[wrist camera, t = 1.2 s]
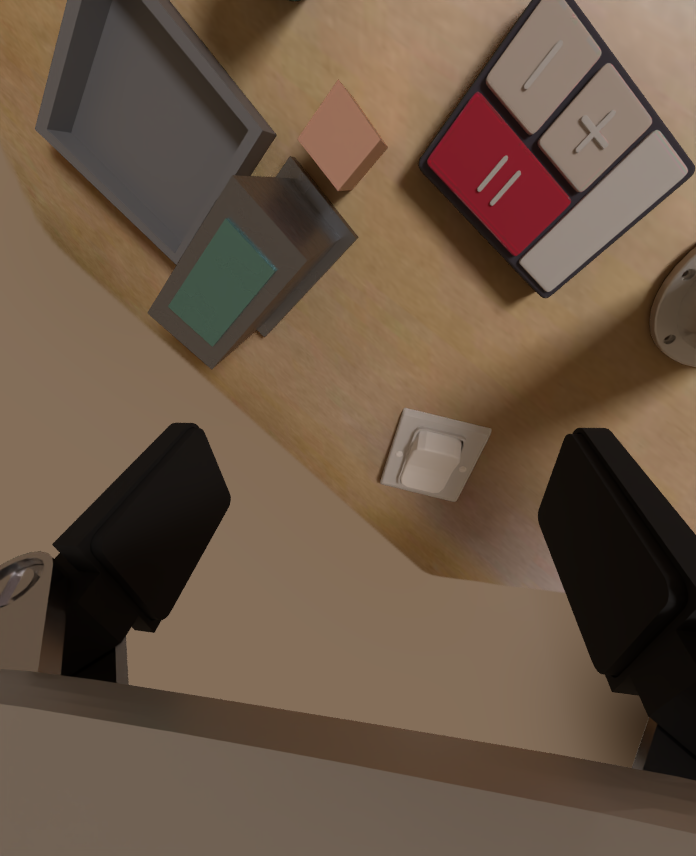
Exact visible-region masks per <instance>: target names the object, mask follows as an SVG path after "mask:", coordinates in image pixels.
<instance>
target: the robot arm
mask: <svg viewBox="0 0 696 856" xmlns="http://www.w3.org/2000/svg"><path fill="white" fill-rule="evenodd" d="M683 273H684V274H683ZM649 323H650V332H651V336H652V338H653V340H654V343H655V344H656V345H657V347H658V348H659V349H660V350H661V351H662V352H663V353H664V354H666V355H667V356H668V357H670V358H671V359H673V360H675V361H677V362H679V363H681V364H684V365H688V366H692V367H696V247H695V248H694V249H692V250H691V251H690V252H689V253H688V254H687V255H686V256H685V257H684V258H683V259H682V260H681V261H680V262H679V263H678V264H677V265H676V266H675V267H674V269H673V270H672V271H671V273H670V274H669V275H668V276H667V278H666V279H665V280H664V282H663V284H662V286H661V287H660V289H659V291H658V293H657V294H656V297H655V300H654V302H653V305H652V308H651V314H650V321H649ZM230 498H231V497H230V493H229V491H228V488H227V486H226V484H225V481H224V478H223V476H222V474H221V471H220V469H219V466H218V464H217V462H216V459H215V457H214V454H213V452H212V449H211V447H210V445H209V442H208V440H207V437H206V435H205V433H204V431H203V430H202V429H200V428H199V427H198V426H197V425H196V424H194V423H173V424H171V425H170V426H169V427H168V428H167V429H166V430H165V431H164V432H163V433H162V434H161V435H160V436H159V437H158V438H157V439H156V440H155V441H154V442H153V443H152V444H151V445H150V446H149V447H148V448H147V449H146V450H145V451H144V452H143V453H142V454H141V455H140V456H139V457H138V458H137V459H136V460H135V461H134V462H133V463H132V464H131V465H130V466H129V467H128V468H127V469H126V470H125V471H124V472H123V473H122V474H121V475H120V476H119V477H118V478H117V479H116V480H115V481H114V482H113V483H112V484H111V485H110V486H109V488H107V490H105V492H104V493H102V494H101V496H100V497H98V499H97V500H96V501H95V502H94V503H93V504H92V505H91V506H90V507H89V508H88V509H87V510H86V511H85V512H84V513H83V514H82V515H81V516H80V517H79V518H78V519H77V520H76V521H75V522H74V523H73V524H72V525H71V526H70V527H69V528H68V529H67V530H66V531H65V532H64V533H63V534H62V535H61V536H60V537H59V538H58V539H57V540H56V541H55V542H54V543H53V546H54V547H55V548H56V549H57V550H58V551H59V552H60V554H59V555H58V556H57V557H56V558H55V559H53V558H52V557H51V556H50V555H49V554H48V553H45V552H41V551H38V552H30V553H27V554H23V555H20V556H17V557H15V558H13V559H11V560H10V561H7V562H5V563H3V564H2V565H0V856H696V535H695V533H694V532H693V531H692V530H691V529H690V527H689V526H688V525H687V524H686V522H685V521H684V520H683V519H682V518H681V516H680V515H679V514H678V513H677V511H676V510H675V509H674V508H673V507H672V505H671V504H670V503H669V502H668V500H667V499H666V498H665V497H664V496H663V494H662V493H661V492H660V491H659V489H658V488H657V487H656V486H655V485H654V483H653V482H652V481H651V480H650V478H649V477H648V476H647V475H646V474H645V472H644V471H643V470H642V469H641V467H640V466H639V465H638V464H637V463H636V461H635V460H634V459H633V458H632V456H631V455H630V454H629V453H628V452H627V450H626V449H625V448H624V447H623V445H622V444H621V443H620V442H619V441H618V439H617V438H616V437H615V436H614V434H613V433H612V432H611V431H610V430H609V429H606V428H577V429H576V430H575V431H574V432H573V434H567V435H566V436H565V438H564V441H563V443H562V446H561V449H560V452H559V455H558V457H557V460H556V463H555V466H554V468H553V471H552V474H551V477H550V480H549V482H548V485H547V488H546V491H545V494H544V496H543V499H542V502H541V505H540V508H539V511H538V521H539V525H540V528H541V530H542V533H543V535H544V538H545V541H546V543H547V546H548V548H549V551H550V554H551V556H552V559H553V561H554V564H555V567H556V569H557V572H558V574H559V577H560V580H561V582H562V585H563V587H564V590H565V593H566V595H567V598H568V600H569V603H570V605H571V608H572V611H573V613H574V616H575V618H576V621H577V624H578V626H579V629H580V631H581V634H582V636H583V639H584V642H585V644H586V647H587V650H588V652H589V655H590V657H591V660H592V662H593V664H594V667H595V668H596V669H597V671H598V672H599V673H600V674H605V676H606V678H607V681H608V683H609V686H610V688H611V691H612V692H616V693H624V694H631V695H639V696H640V698H641V701H642V703H643V706H644V708H645V710H646V712H647V714H648V716H649V718H648V722H647V725H646V727H645V731H644V733H643V736H642V739H641V742H640V745H639V748H638V751H637V754H636V757H635V760H634V763H633V766H632V768H628V767H622V766H617V765H612V764H606V763H601V762H596V761H590V760H585V759H579V758H574V757H568V756H563V755H558V754H552V753H546V752H540V751H534V750H527V749H522V748H516V747H509V746H503V745H497V744H491V743H485V742H479V741H473V740H467V739H461V738H455V737H449V736H443V735H437V734H430V733H425V732H419V731H413V730H407V729H401V728H395V727H388V726H383V725H377V724H370V723H364V722H358V721H352V720H346V719H339V718H333V717H327V716H321V715H315V714H308V713H302V712H296V711H290V710H284V709H277V708H271V707H265V706H258V705H252V704H246V703H240V702H234V701H227V700H221V699H215V698H208V697H202V696H195V695H189V694H183V693H176V692H170V691H164V690H157V689H151V688H144V687H138V686H132V685H129V684H128V666H127V648H126V635H127V633H128V631H129V630H130V628H131V627H132V628H133V629H134V630H138V631H146V632H153V633H154V632H155V631H156V629H157V627H158V625H159V623H160V621H161V620H163V619H165V618H166V617H167V616H168V615H169V613H170V612H171V610H172V608H173V607H174V605H175V603H176V601H177V599H178V598H179V596H180V594H181V592H182V590H183V589H184V587H185V585H186V583H187V581H188V580H189V578H190V576H191V574H192V572H193V570H194V569H195V567H196V565H197V563H198V562H199V560H200V558H201V556H202V554H203V553H204V551H205V549H206V547H207V545H208V543H209V542H210V540H211V538H212V536H213V534H214V533H215V531H216V529H217V527H218V526H219V524H220V522H221V520H222V518H223V516H224V515H225V513H226V511H227V509H228V508H229V505H230V500H231V499H230Z"/></svg>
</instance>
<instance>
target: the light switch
mask: <svg viewBox="0 0 696 856" xmlns="http://www.w3.org/2000/svg"><path fill="white" fill-rule="evenodd" d="M491 431H492V430H491V428H487V427H483V426H479V425H474V424H470V423H466V422H462V421H458V420H454V419H450V418H446V417H441V416H437V415H433V414H429V413H425V412H421V411H417V410H412V409H408V408H404V409H403V411H402V414H401V418H400V421H399V424H398V427H397V430H396V433H395V436H394V439H393V442H392V445H391V448H390V451H389V455H388V458H387V461H386V464H385V467H384V470H383V473H382V477H381V480H380V483H381V484H383V485H387V486H391V487H395V488H399V489H403V490H407V491H411V492H415V493H419V494H423V495H427V496H431V497H435V498H439V499H443V500H447V501H451V502H456V501H457V499H458V497H459V495H460V494H461V492H462V490H463V488H464V486H465V484H466V482H467V480H468V478H469V476H470V474H471V472H472V470H473V468H474V466H475V464H476V462H477V460H478V458H479V456H480V454H481V452H482V450H483V448H484V446H485V445H486V443H487V441H488V439H489V437H490V435H491ZM462 441H463V444H462Z"/></svg>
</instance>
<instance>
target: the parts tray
mask: <svg viewBox="0 0 696 856" xmlns="http://www.w3.org/2000/svg"><path fill="white" fill-rule="evenodd" d="M35 130H36V131H37V132H38V133H39V134H40V135H42V136H43V137H44V138H45V139H46V140H47V141H48V142H49V143H50V144H51V145H52V146H53V147H54V148H55V149H56V150H57V151H58V152H59V153H60V154H61V155H62V156H63V157H64V158H65V159H67V160H68V161H69V162H70V163H71V164H72V165H73V166H74V167H75V168H76V169H77V170H78V171H79V172H80V173H81V174H82V175H83V176H84V177H85V178H86V179H87V180H88V181H89V182H90V183H92V184H93V185H94V186H95V187H96V188H97V189H98V190H99V191H100V192H101V193H102V194H103V195H104V196H105V197H106V198H107V199H108V200H109V201H110V202H111V203H112V204H113V205H114V206H115V207H117V208H118V209H119V210H120V211H121V212H122V213H123V214H124V215H125V216H126V217H127V218H128V219H129V220H130V221H131V222H132V223H133V224H134V225H135V226H136V227H137V228H138V229H139V230H140V231H142V232H143V233H144V234H145V235H146V236H147V237H148V238H149V239H150V240H151V241H152V242H153V243H154V244H155V245H156V246H157V247H158V248H159V249H160V250H161V251H162V252H163V253H164V254H165V255H167V256H168V257H169V258H170V259H171V260H172V261H173V262H174V263H175V264H176V265H177V263H178V262H179V260H180V258H181V257H182V255H183V253H184V252H185V250H186V248H187V247H188V245H189V244H190V242H191V240H192V239H193V237H194V235H195V234H196V232H197V231H198V229H199V227H200V226H201V224H202V222H203V221H204V219H205V218H206V216H207V214H208V213H209V211H210V209H211V208H212V206H213V205H214V203H215V201H216V200H217V199H218V197H219V196H220V194H221V192H222V191H223V189H224V188H225V186H226V184H227V183H228V181H229V179H230V178H231V176H232V175H238V176H250V175H251V174H252V172H253V171H254V169H255V168H256V166H257V165H258V163H259V162H260V160H261V158H262V157H263V155H264V154H265V152H266V151H267V149H268V148H269V146H270V145H271V143H272V141H273V140H274V138H275V137H276V133H275V132H274V131H273V130H272V128H271V127H270V126H269V125H268V123H267V122H266V121H265V120H264V118H263V117H262V116H261V115H260V113H259V112H258V111H257V110H256V108H255V107H254V106H253V105H252V103H251V102H250V101H249V100H248V98H247V97H246V96H245V95H244V93H243V92H242V91H241V90H240V88H239V87H238V86H237V85H236V83H235V82H234V81H233V80H232V78H231V77H230V76H229V75H228V73H227V72H226V71H225V70H224V68H223V67H222V66H221V65H220V63H219V62H218V61H217V60H216V58H215V57H214V56H213V55H212V53H211V52H210V51H209V50H208V48H207V47H206V46H205V45H204V43H203V42H202V41H201V40H200V38H199V37H198V36H197V35H196V33H195V32H194V31H193V30H192V28H191V27H190V26H189V25H188V23H187V22H186V21H185V20H184V18H183V17H182V16H181V15H180V13H179V12H178V11H177V10H176V8H175V7H174V6H173V5H172V3H171V2H170V1H169V0H67V3H66V7H65V11H64V15H63V19H62V23H61V27H60V31H59V35H58V39H57V43H56V47H55V51H54V55H53V59H52V63H51V67H50V71H49V75H48V79H47V83H46V87H45V91H44V95H43V99H42V103H41V107H40V111H39V115H38V119H37V123H36V127H35Z"/></svg>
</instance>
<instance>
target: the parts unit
mask: <svg viewBox="0 0 696 856" xmlns="http://www.w3.org/2000/svg"><path fill="white" fill-rule="evenodd" d="M357 239H358V236H357V235H356V234H355V232H354V231H353V230H352V229H351V227H350V226H349V225H348V224H347V222H346V221H345V220H344V219H343V217H342V216H341V215H340V214H339V212H338V211H337V210H336V209H335V207H334V206H333V205H332V204H331V202H330V201H329V200H328V199H327V197H326V196H325V195H324V194H323V192H322V191H321V190H320V189H319V187H318V186H317V185H316V184H315V182H314V181H313V180H312V179H311V177H310V176H309V175H308V174H307V172H306V171H305V170H304V169H303V167H302V166H301V165H300V164H299V162H298V161H297V160H296V159H295V157H291V156H290V157H289V159H288V160H287V162H286V163H285V164H284V166H283V167H282V169H281V170H280V172H279V173H278V175H277V176H276V177H258V176H238V175H232V176H231V178H230V179H229V181H228V183H227V184H226V186H225V188H224V189H223V191H222V192H221V194H220V196H219V197H218V199H217V200H216V201H215V203H214V205H213V206H212V208H211V209H210V211H209V213H208V214H207V216H206V218H205V219H204V221H203V222H202V224H201V226H200V227H199V229H198V231H197V232H196V234H195V235H194V237H193V239H192V240H191V242H190V244H189V245H188V247H187V248H186V250H185V252H184V253H183V255H182V257H181V258H180V260H179V262H178V263H177V265H176V267H175V269H174V270H173V272H172V274H171V275H170V277H169V279H168V280H167V282H166V283H165V285H164V287H163V288H162V290H161V292H160V293H159V295H158V296H157V298H156V300H155V301H154V303H153V305H152V306H151V308H150V309H149V311H148V314H149V315H150V316H151V317H152V318H154V319H155V320H156V321H157V322H158V323H159V324H160V325H162V326H163V327H164V328H165V329H166V330H167V331H168V332H170V333H171V334H172V335H173V336H174V337H175V338H176V339H178V340H179V341H180V342H181V343H182V344H183V345H184V346H186V347H187V348H188V349H189V350H190V351H191V352H192V353H194V354H195V355H196V356H197V357H198V358H199V359H200V360H202V361H203V362H204V363H205V364H206V365H207V366H208V367H210V368H211V369H213V368H214V367H215V366H216V365H217V364H219V363H220V362H221V361H222V360H223V359H224V358H225V357H227V356H228V355H229V354H230V353H231V352H232V351H233V350H235V349H236V348H237V347H238V346H239V345H240V344H241V343H242V342H244V341H245V340H246V339H247V338H248V337H249V336H250V335H252V334H253V333H254V332H255V331H256V330H258V331H259V332H260V333H261V334H262V335H263V336H264V337H265V336H266V335H267V334H268V333H269V332H270V331H271V330H272V329H273V328H274V327H275V326H276V325H277V324H278V323H279V322H280V321H281V320H282V319H283V317H284V316H285V315H286V314H287V313H288V312H289V311H290V310H291V309H292V308H293V307H294V306H295V305H296V304H297V303H298V301H299V300H300V299H301V298H302V297H303V296H304V295H305V294H306V293H307V292H308V291H309V290H310V289H311V288H312V287H313V285H314V284H315V283H316V282H317V281H318V280H319V279H320V278H321V277H322V276H323V275H324V274H325V273H326V272H327V271H328V269H329V268H330V267H331V266H332V265H333V264H334V263H335V262H336V261H337V260H338V259H339V258H340V257H341V256H342V255H343V253H344V252H345V251H346V250H347V249H348V248H349V247H350V246H351V245H352V244H353V243H354V242H355V241H356V240H357Z"/></svg>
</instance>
